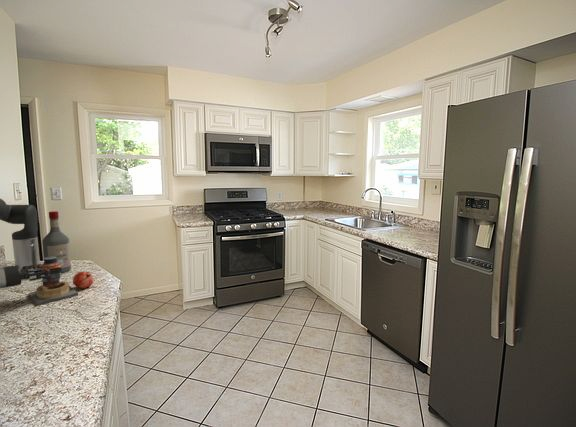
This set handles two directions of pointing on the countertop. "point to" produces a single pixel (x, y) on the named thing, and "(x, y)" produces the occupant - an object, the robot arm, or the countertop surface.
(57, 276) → the supplement bottle
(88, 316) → the countertop surface
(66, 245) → the liquor
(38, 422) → the countertop surface
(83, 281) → the pomegranate
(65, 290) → the ring board
